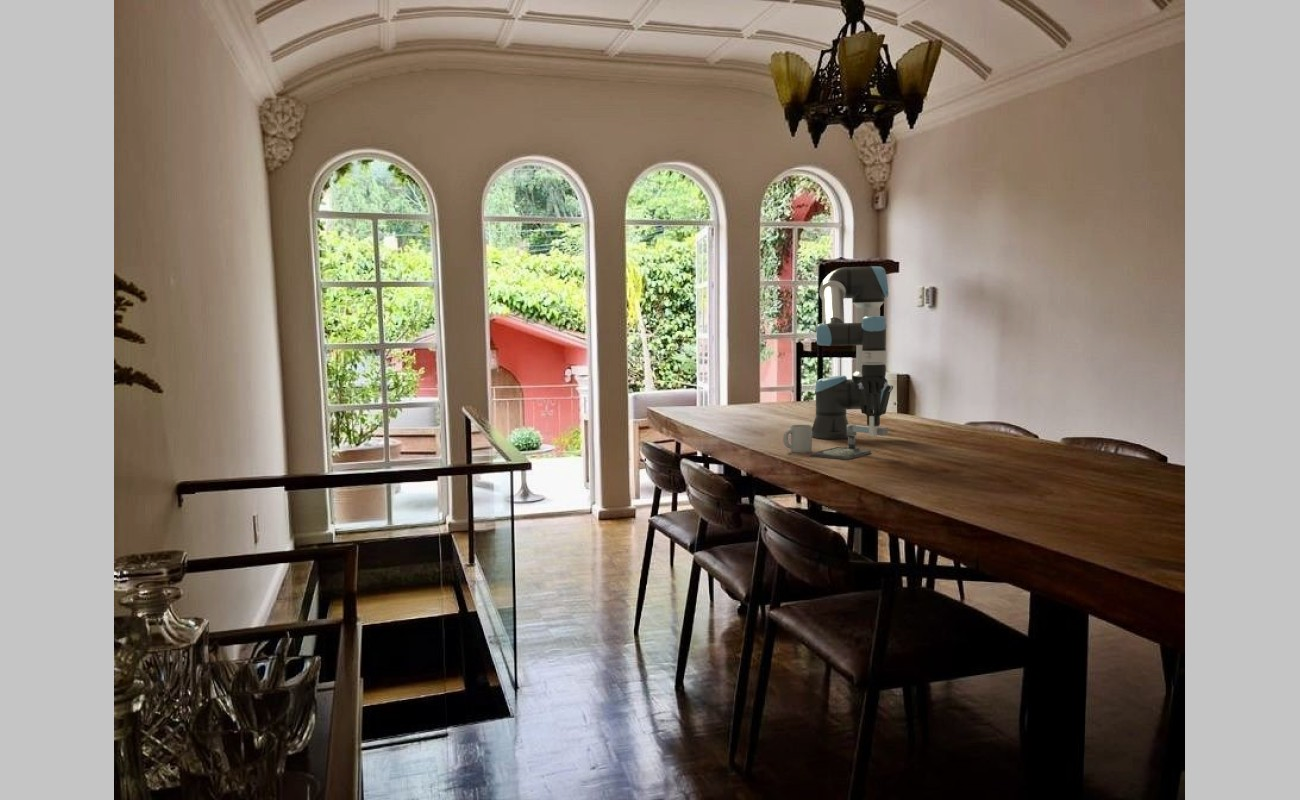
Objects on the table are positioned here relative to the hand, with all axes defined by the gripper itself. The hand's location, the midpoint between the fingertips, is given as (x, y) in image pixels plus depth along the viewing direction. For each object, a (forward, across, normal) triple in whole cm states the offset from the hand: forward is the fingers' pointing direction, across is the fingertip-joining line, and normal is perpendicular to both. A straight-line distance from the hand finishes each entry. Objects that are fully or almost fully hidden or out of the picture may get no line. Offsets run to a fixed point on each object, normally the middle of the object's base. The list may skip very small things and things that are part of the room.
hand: (873, 435), depth 264 cm
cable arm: (+1, -4, +3) cm, 6 cm away
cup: (+7, -26, -5) cm, 27 cm away
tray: (+7, -10, -2) cm, 13 cm away
